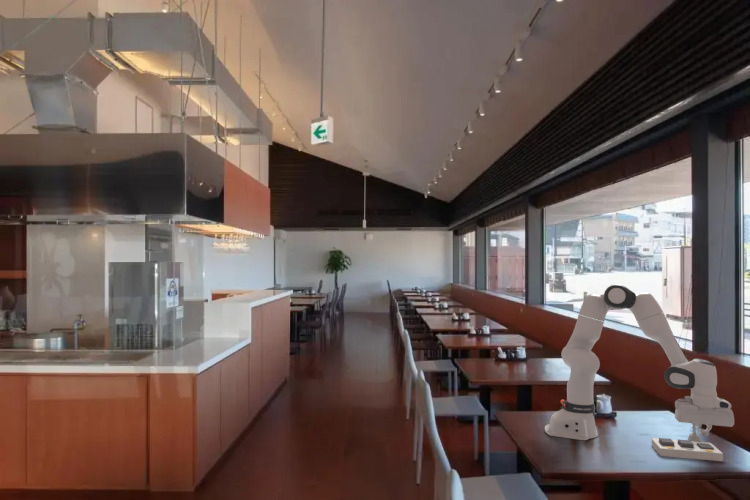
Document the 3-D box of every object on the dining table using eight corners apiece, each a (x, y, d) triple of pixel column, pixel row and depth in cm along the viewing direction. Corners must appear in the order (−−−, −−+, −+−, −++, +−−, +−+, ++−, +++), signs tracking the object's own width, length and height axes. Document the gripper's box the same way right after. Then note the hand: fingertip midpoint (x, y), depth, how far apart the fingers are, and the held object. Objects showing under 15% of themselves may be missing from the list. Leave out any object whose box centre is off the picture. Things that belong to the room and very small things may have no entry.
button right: (701, 453, 198) (701, 446, 199) (697, 449, 203) (697, 443, 203) (713, 454, 197) (713, 447, 197) (709, 450, 202) (709, 444, 202)
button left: (662, 447, 202) (662, 441, 202) (659, 444, 206) (658, 437, 206) (674, 448, 201) (674, 442, 201) (670, 444, 205) (670, 438, 205)
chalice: (706, 443, 213) (706, 400, 213) (689, 442, 214) (688, 399, 215) (699, 437, 220) (698, 396, 220) (682, 436, 221) (681, 395, 222)
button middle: (681, 449, 200) (681, 443, 200) (677, 445, 205) (677, 439, 205) (693, 450, 199) (693, 444, 199) (689, 446, 203) (689, 440, 203)
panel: (660, 455, 199) (660, 447, 199) (651, 445, 210) (651, 437, 210) (723, 461, 193) (723, 452, 193) (710, 450, 205) (710, 442, 205)
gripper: (677, 400, 200) (677, 434, 200) (736, 404, 195) (736, 440, 194) (672, 396, 206) (672, 429, 206) (729, 400, 201) (729, 435, 200)
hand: (703, 435), depth 200 cm, fingers closed
